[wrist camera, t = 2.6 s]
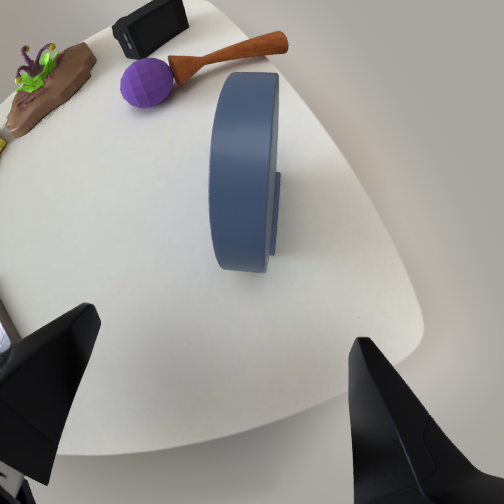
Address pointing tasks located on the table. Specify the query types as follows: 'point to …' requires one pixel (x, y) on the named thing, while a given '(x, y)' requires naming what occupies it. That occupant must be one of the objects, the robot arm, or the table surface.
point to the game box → (2, 143)
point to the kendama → (188, 68)
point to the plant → (47, 84)
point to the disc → (245, 172)
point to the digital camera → (150, 27)
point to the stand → (7, 331)
